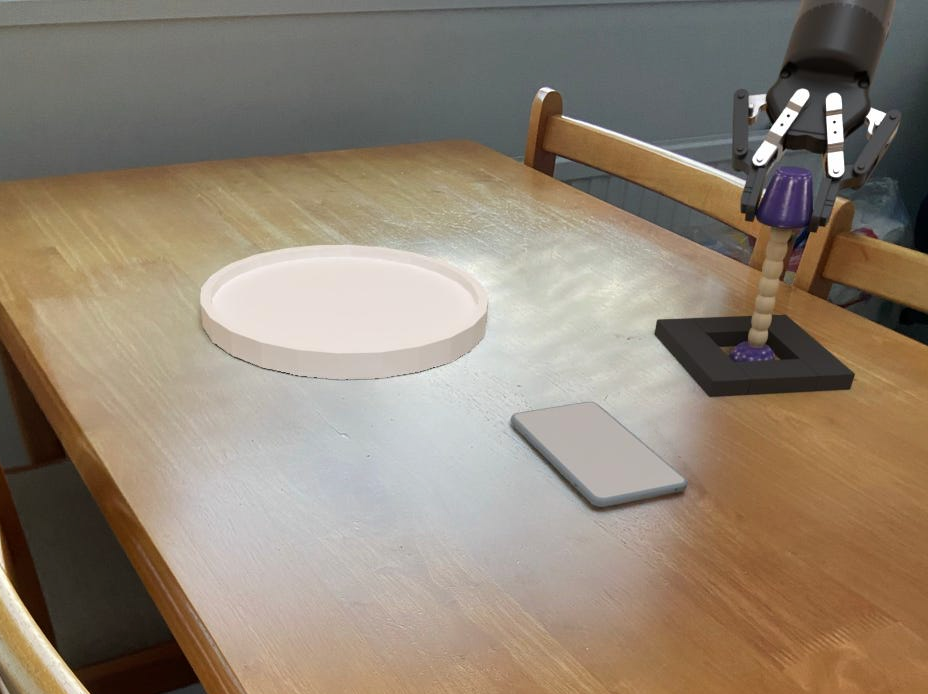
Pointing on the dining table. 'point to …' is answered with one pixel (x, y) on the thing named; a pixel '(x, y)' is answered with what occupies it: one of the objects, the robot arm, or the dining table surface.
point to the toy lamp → (776, 251)
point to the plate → (344, 311)
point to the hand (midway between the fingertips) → (781, 221)
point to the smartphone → (598, 454)
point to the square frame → (720, 376)
